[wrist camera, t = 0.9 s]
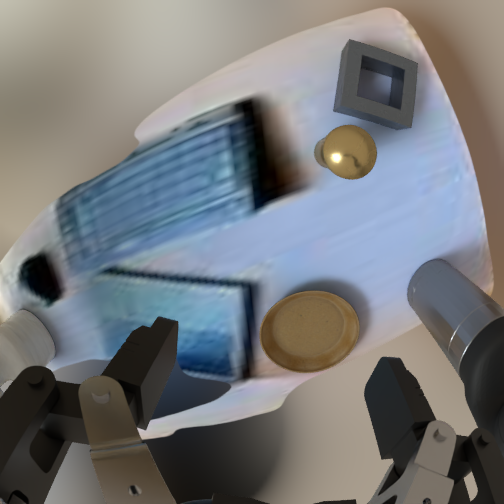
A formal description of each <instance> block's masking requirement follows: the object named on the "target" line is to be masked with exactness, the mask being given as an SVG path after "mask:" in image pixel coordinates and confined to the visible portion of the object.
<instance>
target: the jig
mask: <svg viewBox="0 0 504 504" xmlns="http://www.w3.org/2000/svg"><path fill="white" fill-rule="evenodd" d="M417 67H418V63H416V62H414V61H411V60H409V59H406V58H404V57H401V56H399V55H396V54H393V53H391V52H388V51H385V50H382V49H379V48H376V47H373V46H370V45H367V44H364V43H361V42H357V41H354V40H350V39H349V41H348V42H347V44H346V45H345V47H344V49H343V50H342V54H341V62H340V69H339V76H338V83H337V90H336V96H335V103H334V109H333V111H334V112H338V113H342V114H345V115H349V116H353V117H356V118H360V119H363V120H367V121H370V122H373V123H377V124H380V125H383V126H386V127H389V128H392V129H395V130H401V129H407V128H411V126H412V119H413V111H414V103H415V93H416V81H417ZM360 68H364V69H368V70H371V71H374V72H377V73H380V74H383V75H386V76H389V77H391V78H392V83H391V92H390V100H389V106H387V105H384V104H381V103H378V102H375V101H372V100H369V99H366V98H362V97H359V96H357V91H358V84H359V76H360Z"/></svg>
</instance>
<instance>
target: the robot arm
mask: <svg viewBox="0 0 504 504" xmlns="http://www.w3.org/2000/svg"><path fill="white" fill-rule="evenodd" d="M407 296H408V301H409V304H410V306H411V307H412V308H413V310H414V311H415V313H416V314H417V315H418V317H419V318H420V320H421V321H422V322H423V324H424V325H425V326H426V328H427V329H428V330H429V332H430V333H431V335H432V336H433V338H434V339H435V340H436V342H437V343H438V345H439V346H440V348H441V349H442V351H443V352H444V354H445V355H446V357H447V358H448V360H449V361H450V363H451V364H452V366H453V367H454V369H455V370H456V372H457V373H458V375H459V377H460V378H461V380H462V381H463V383H464V386H465V397H466V401H467V404H468V406H469V408H470V411H471V413H472V415H473V417H474V419H475V422H476V424H477V426H478V428H476V429H475V430H474V431H473V432H472V433H471V434H470V435H469V436H468V437H467V436H461V435H456V433H455V431H454V429H453V428H452V427H451V426H450V425H448V424H447V423H446V422H443V421H438V420H436V418H435V416H434V414H433V412H432V409H431V407H430V406H429V403H428V401H427V399H426V397H425V396H424V393H423V391H422V389H420V385H419V383H418V381H417V379H416V378H415V377H414V376H413V375H412V374H411V373H410V372H409V371H408V370H406V368H405V366H404V364H403V362H402V360H401V359H400V358H395V357H382V358H381V359H380V360H379V362H378V364H377V366H376V367H375V369H374V371H373V373H372V375H371V377H370V378H369V380H368V382H367V384H366V386H365V391H364V397H365V401H366V404H367V408H368V411H369V415H370V418H371V421H372V425H373V429H374V433H375V436H376V440H377V444H378V447H379V451H380V455H381V459H391V458H393V461H394V462H393V463H392V464H391V465H390V467H389V469H388V470H387V472H386V474H385V476H384V478H383V480H382V482H381V483H380V485H379V487H378V489H377V490H376V492H375V494H374V495H373V497H372V498H371V500H370V501H369V502H368V503H367V504H504V309H503V308H502V307H501V306H500V305H499V304H497V303H496V302H495V301H494V300H493V299H492V298H491V297H490V296H488V295H487V294H486V293H485V292H484V291H483V290H481V289H480V288H479V287H478V286H477V285H475V284H474V283H473V282H472V281H470V280H469V279H468V278H467V277H466V276H464V275H463V274H462V273H461V272H459V271H458V270H457V269H456V268H454V267H453V266H452V265H450V264H449V263H448V262H446V261H444V260H432V261H429V262H427V263H425V264H424V265H422V266H421V267H420V268H419V269H418V270H417V271H416V272H415V274H414V275H413V277H412V279H411V281H410V283H409V287H408V293H407ZM177 340H178V321H175V320H171V319H167V318H163V317H160V316H159V317H157V319H156V320H155V322H154V323H153V325H152V326H151V328H150V327H146V326H141V327H139V328H137V329H136V330H134V331H132V333H131V334H130V335H129V337H128V338H127V339H126V342H124V343H123V345H122V346H121V349H119V350H118V352H117V353H116V355H115V356H114V357H113V359H112V360H111V362H110V363H109V364H108V366H107V367H106V369H105V370H104V372H103V373H102V374H101V376H93V377H90V378H88V379H86V380H85V381H84V382H83V383H82V384H74V383H66V382H61V381H56V379H55V376H54V374H53V372H52V371H51V370H49V369H48V368H46V367H44V366H37V365H36V366H30V367H27V368H25V369H24V370H22V371H21V372H20V374H19V375H18V376H17V377H16V379H15V380H14V381H13V382H12V383H11V385H10V386H9V387H8V389H7V390H6V391H5V392H4V394H3V395H2V396H1V398H0V504H44V502H45V499H46V497H47V495H48V492H49V490H50V488H51V486H52V483H53V481H54V479H55V477H56V475H57V472H58V470H59V468H60V466H61V464H62V462H63V460H64V458H65V455H66V454H67V451H68V449H69V447H70V445H71V443H72V442H76V443H82V444H88V445H90V448H91V450H90V455H91V459H92V463H93V466H94V469H95V472H96V475H97V478H98V481H99V484H100V487H101V489H102V492H103V495H104V498H105V500H106V503H107V504H176V502H175V500H174V499H173V497H172V495H171V493H170V491H169V490H168V488H167V486H166V484H165V483H164V480H163V478H162V476H161V474H160V472H159V470H158V468H157V466H156V464H155V462H154V460H153V458H152V456H151V453H150V452H149V449H148V447H147V445H146V443H145V442H143V441H142V439H141V437H140V435H139V432H138V430H137V428H140V429H143V430H146V429H147V426H148V424H149V422H150V419H151V417H152V415H153V412H154V410H155V408H156V405H157V403H158V401H159V399H160V396H161V394H162V392H163V390H164V387H165V385H166V382H167V380H168V378H169V376H170V373H171V372H172V369H173V367H174V364H175V360H176V355H177ZM471 471H472V473H473V476H474V478H475V482H476V484H477V488H478V493H477V495H476V497H475V498H474V499H473V500H472V501H471V502H470V498H469V495H468V491H467V488H466V485H465V482H464V477H466V476H467V475H468V474H469V473H470V472H471ZM183 504H268V503H265V502H261V501H258V500H255V499H252V498H245V497H238V496H231V495H225V494H219V493H214V494H213V497H212V500H197V501H191V502H186V503H183ZM315 504H356V500H355V499H354V500H341V501H323V502H319V503H315Z"/></svg>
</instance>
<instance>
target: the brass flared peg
mask: <svg viewBox="0 0 504 504" xmlns="http://www.w3.org/2000/svg"><path fill="white" fill-rule="evenodd" d="M314 156H315V159H316V161H317V162H318V163H319V164H320V165H321V166H323V167H325V168H328V169H329V170H330V171H331V172H333V173H334V174H335V175H337V176H339V177H342V178H345V179H352V180H353V179H359V178H362V177H364V176H365V175H367V174H368V173H369V172H370V171H371V170H372V168H373V167H374V165H375V162H376V157H377V151H376V146H375V143H374V141H373V139H372V137H371V136H370V135H369V134H368V133H367V132H366V131H365V130H363V129H362V128H360V127H357V126H354V125H343V126H340V127H337V128H335V129H333V130H332V131H331V132H330V133H329V134H328V135H327V136H326V138H324V139H322V140H320V141H319V142H318V143H317V144H316V146H315V149H314Z"/></svg>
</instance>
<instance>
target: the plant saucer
mask: <svg viewBox="0 0 504 504" xmlns="http://www.w3.org/2000/svg"><path fill="white" fill-rule="evenodd" d="M359 332H360V324H359V319H358V316H357V314H356V312H355V310H354V309H353V307H352V306H351V305H350V304H349V303H348V302H347V301H346V300H344V299H343V298H341V297H339V296H337V295H335V294H332V293H329V292H325V291H303V292H299V293H295V294H292V295H290V296H288V297H286V298H284V299H282V300H281V301H279V302H278V303H276V304H275V305H274V306H273V307H272V308H271V309H270V310H269V311H268V312H267V314H266V315H265V317H264V319H263V321H262V323H261V327H260V334H259V335H260V343H261V347H262V349H263V351H264V352H265V354H266V355H267V357H268V358H269V359H270V360H271V361H272V362H273V363H275V364H276V365H278V366H279V367H281V368H283V369H286V370H289V371H292V372H298V373H313V372H319V371H323V370H326V369H328V368H331V367H333V366H335V365H337V364H338V363H340V362H341V361H342V360H344V359H345V358H346V357H347V356H348V355H349V354H350V352H351V351H352V350H353V348H354V347H355V345H356V343H357V340H358V337H359Z"/></svg>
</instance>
